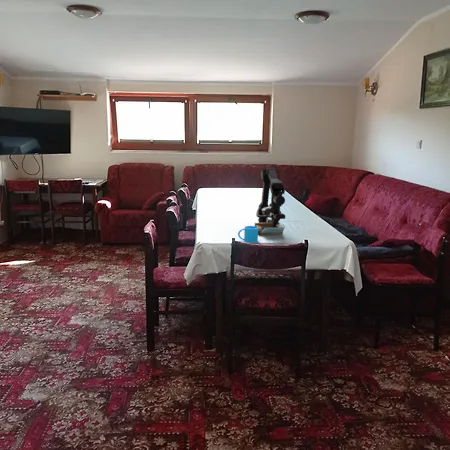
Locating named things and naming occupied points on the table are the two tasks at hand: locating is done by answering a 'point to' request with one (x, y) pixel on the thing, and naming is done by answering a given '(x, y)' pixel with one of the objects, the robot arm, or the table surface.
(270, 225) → the truck bed
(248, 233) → the mug
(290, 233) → the table surface
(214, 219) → the table surface
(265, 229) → the panel
